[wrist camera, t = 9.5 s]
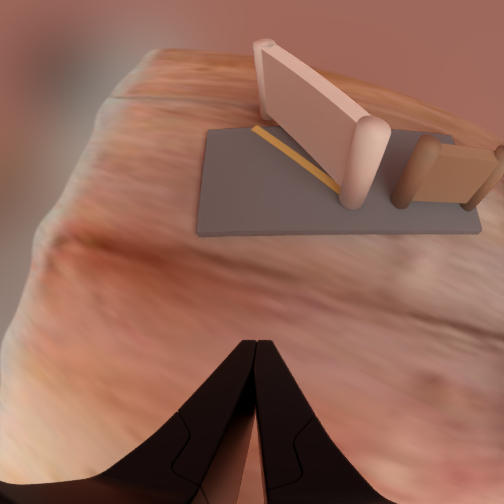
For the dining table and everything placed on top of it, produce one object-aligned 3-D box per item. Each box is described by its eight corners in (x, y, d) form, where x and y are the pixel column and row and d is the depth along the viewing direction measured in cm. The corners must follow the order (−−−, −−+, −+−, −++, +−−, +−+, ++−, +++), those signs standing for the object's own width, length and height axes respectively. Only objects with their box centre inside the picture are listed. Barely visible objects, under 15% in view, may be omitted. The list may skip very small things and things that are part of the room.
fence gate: (369, 201, 23) (397, 133, 16) (350, 214, 23) (374, 146, 16) (273, 105, 28) (268, 35, 20) (255, 114, 27) (246, 43, 20)
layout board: (448, 139, 26) (477, 83, 19) (477, 234, 22) (527, 186, 15) (209, 134, 28) (190, 68, 21) (198, 236, 24) (166, 179, 17)
